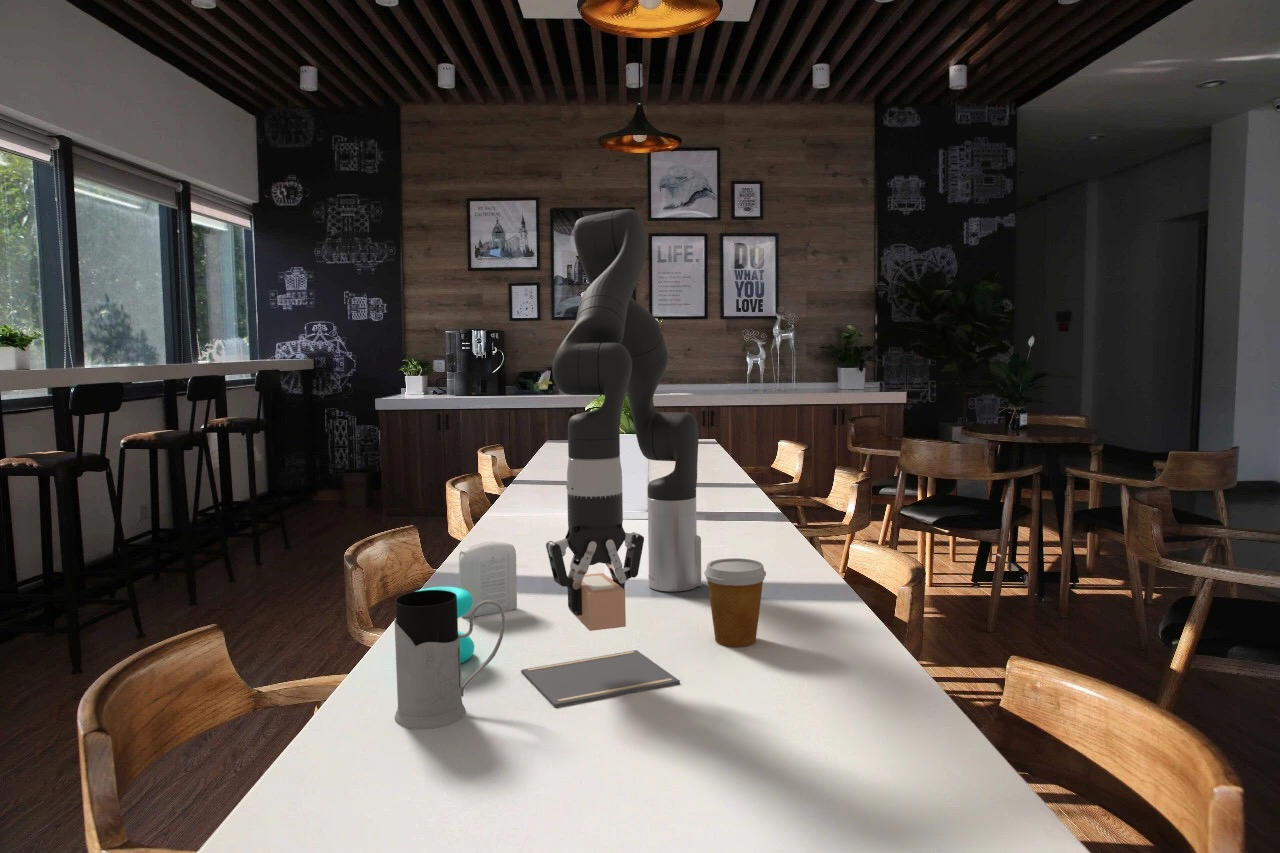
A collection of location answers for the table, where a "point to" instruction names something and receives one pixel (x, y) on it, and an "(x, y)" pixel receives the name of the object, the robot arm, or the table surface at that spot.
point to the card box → (602, 603)
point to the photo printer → (489, 576)
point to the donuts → (462, 608)
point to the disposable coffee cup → (735, 599)
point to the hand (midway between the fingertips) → (597, 611)
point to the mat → (597, 678)
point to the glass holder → (431, 658)
